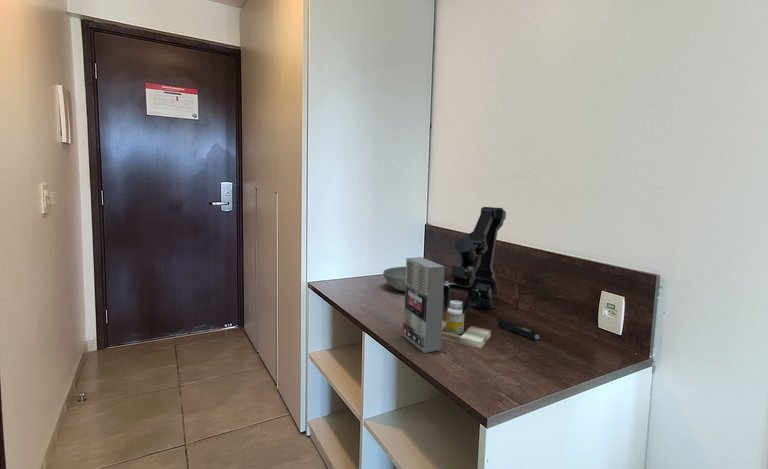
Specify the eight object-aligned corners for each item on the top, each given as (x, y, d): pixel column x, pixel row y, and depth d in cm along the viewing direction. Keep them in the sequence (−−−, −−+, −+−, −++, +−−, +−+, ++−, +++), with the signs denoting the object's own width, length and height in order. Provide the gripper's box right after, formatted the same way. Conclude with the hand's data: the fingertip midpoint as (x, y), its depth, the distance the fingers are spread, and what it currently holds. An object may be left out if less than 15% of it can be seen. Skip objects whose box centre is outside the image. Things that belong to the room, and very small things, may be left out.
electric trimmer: (502, 325, 142) (502, 316, 141) (541, 340, 129) (542, 330, 129) (495, 327, 140) (495, 318, 139) (534, 342, 127) (534, 333, 126)
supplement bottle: (448, 327, 134) (450, 298, 132) (465, 330, 132) (466, 300, 130) (444, 332, 129) (445, 302, 127) (460, 335, 127) (462, 305, 125)
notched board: (440, 325, 139) (440, 319, 139) (490, 336, 131) (491, 330, 130) (427, 336, 129) (427, 330, 129) (480, 348, 121) (481, 342, 121)
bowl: (432, 297, 171) (433, 278, 169) (382, 295, 171) (382, 277, 170) (428, 283, 192) (428, 266, 190) (383, 282, 192) (383, 265, 191)
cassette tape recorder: (401, 336, 129) (403, 258, 125) (418, 333, 132) (421, 257, 128) (423, 354, 117) (426, 268, 113) (441, 350, 119) (445, 266, 115)
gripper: (435, 252, 134) (419, 293, 127) (491, 259, 125) (479, 304, 118) (442, 271, 143) (429, 310, 135) (496, 278, 134) (485, 321, 126)
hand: (454, 311), depth 128 cm, fingers closed on supplement bottle, 5 cm apart
